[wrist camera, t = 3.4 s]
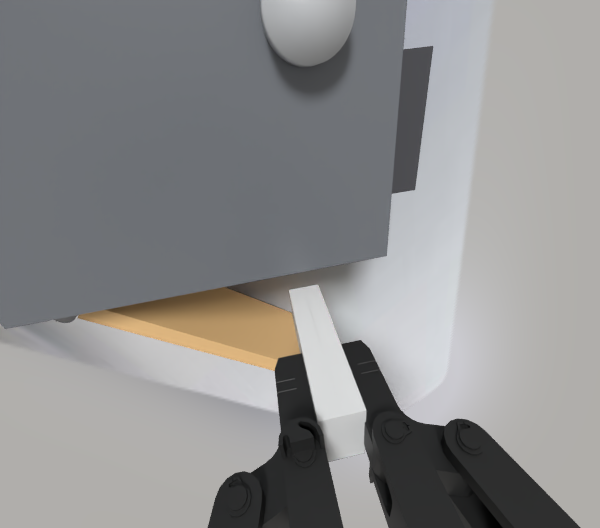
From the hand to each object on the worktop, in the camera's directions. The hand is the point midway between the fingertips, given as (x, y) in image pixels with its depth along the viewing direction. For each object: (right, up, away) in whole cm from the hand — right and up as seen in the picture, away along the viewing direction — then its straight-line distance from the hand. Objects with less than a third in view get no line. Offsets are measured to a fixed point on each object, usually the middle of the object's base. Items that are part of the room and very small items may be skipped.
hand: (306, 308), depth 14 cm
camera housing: (-6, +10, +1) cm, 12 cm away
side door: (-7, +1, +6) cm, 10 cm away
